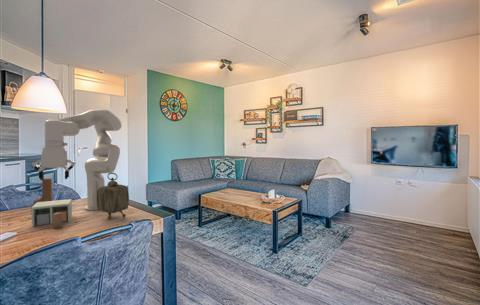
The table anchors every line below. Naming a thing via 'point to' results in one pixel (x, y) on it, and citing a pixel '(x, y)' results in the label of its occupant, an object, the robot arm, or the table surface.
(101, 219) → the table surface
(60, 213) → the corded block
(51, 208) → the cubby shelf
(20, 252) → the table surface
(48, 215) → the plain block
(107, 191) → the tabletop clock
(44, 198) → the wooden block
